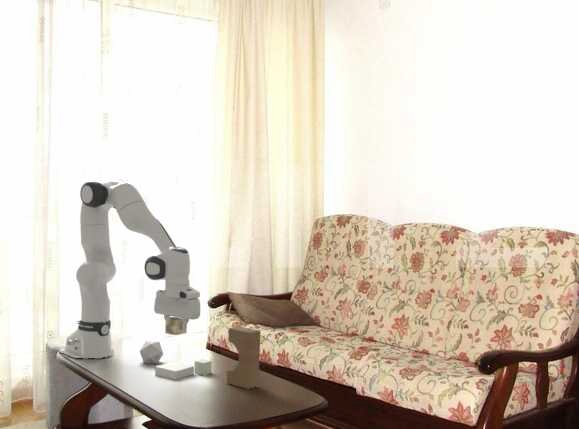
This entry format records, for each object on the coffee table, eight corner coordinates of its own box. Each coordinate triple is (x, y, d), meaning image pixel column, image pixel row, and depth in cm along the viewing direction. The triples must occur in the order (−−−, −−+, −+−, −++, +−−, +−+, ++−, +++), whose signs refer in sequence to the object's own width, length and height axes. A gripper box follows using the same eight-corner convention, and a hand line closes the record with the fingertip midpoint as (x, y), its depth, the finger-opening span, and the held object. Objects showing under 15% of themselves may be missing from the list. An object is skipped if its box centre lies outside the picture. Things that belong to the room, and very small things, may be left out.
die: (151, 368, 280) (167, 346, 283) (132, 355, 281) (148, 333, 284) (154, 370, 288) (169, 349, 291) (136, 358, 289) (151, 337, 292)
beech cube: (165, 333, 268) (165, 318, 268) (175, 330, 273) (176, 316, 273) (176, 335, 265) (176, 320, 265) (186, 332, 270) (186, 318, 270)
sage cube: (194, 373, 273) (194, 361, 273) (202, 370, 277) (202, 359, 277) (203, 375, 271) (203, 363, 271) (211, 372, 274) (211, 361, 274)
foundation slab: (155, 374, 268) (155, 366, 268) (173, 369, 277) (174, 361, 277) (175, 379, 263) (175, 371, 263) (193, 374, 271) (194, 366, 271)
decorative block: (225, 383, 261) (227, 327, 260) (237, 380, 265) (239, 325, 264) (247, 390, 253) (249, 332, 252) (259, 387, 257) (261, 330, 257)
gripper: (150, 289, 272) (149, 325, 272) (191, 295, 260) (190, 333, 261) (162, 287, 277) (161, 323, 278) (203, 293, 265) (202, 331, 266)
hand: (176, 328), depth 269 cm, fingers closed on beech cube, 5 cm apart
